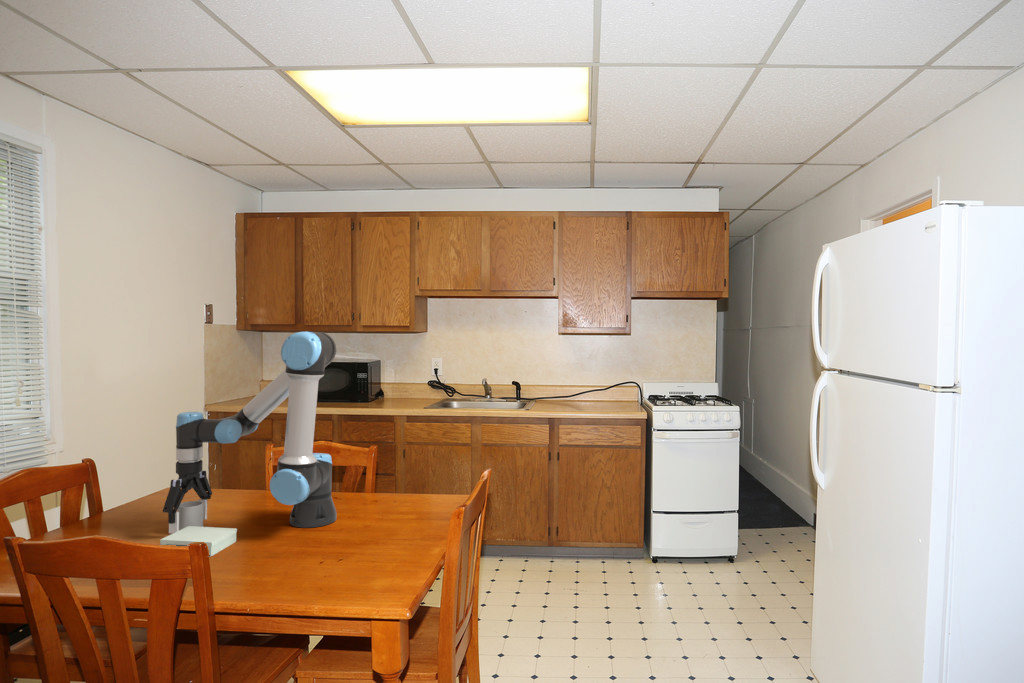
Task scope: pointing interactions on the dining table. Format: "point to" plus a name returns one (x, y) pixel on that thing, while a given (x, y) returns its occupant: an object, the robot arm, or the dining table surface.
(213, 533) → the pale green flat block
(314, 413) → the robot arm
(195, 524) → the cup
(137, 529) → the dining table surface
